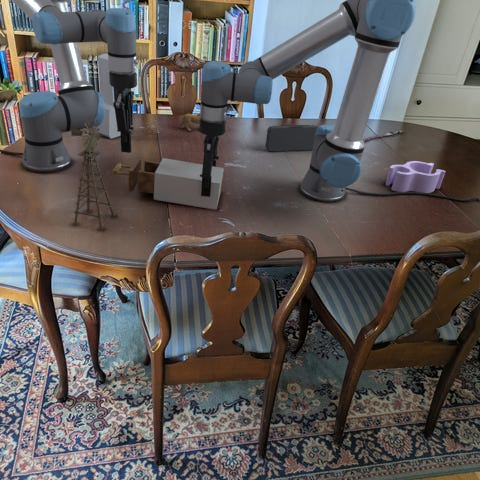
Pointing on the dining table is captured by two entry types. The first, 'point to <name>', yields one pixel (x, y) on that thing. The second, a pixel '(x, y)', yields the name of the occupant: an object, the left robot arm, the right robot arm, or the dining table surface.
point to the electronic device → (107, 100)
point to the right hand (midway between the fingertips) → (208, 187)
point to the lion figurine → (188, 118)
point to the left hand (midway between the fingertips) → (126, 151)
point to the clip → (414, 177)
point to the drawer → (139, 175)
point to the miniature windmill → (85, 153)
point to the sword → (381, 136)
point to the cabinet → (186, 184)
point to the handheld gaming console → (290, 137)
